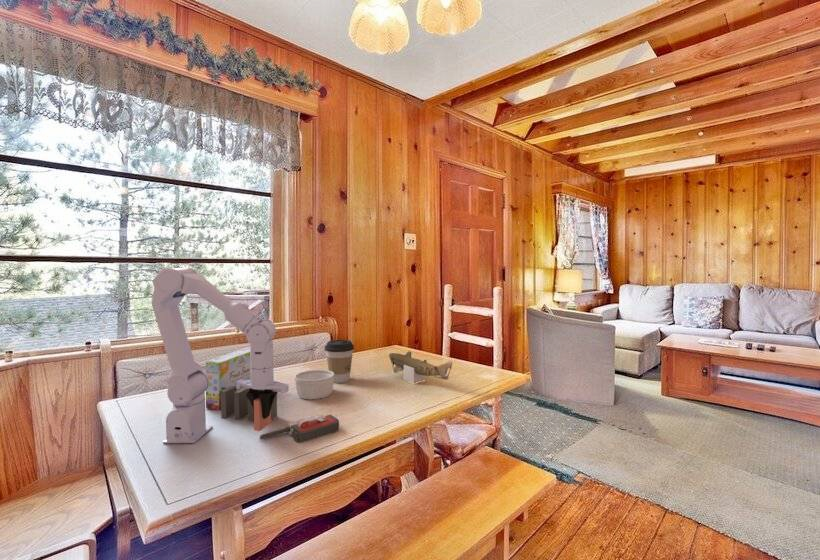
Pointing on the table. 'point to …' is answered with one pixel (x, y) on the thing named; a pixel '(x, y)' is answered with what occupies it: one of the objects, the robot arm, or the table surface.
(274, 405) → the domino
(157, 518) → the table surface
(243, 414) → the domino
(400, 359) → the wood carving
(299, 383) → the ramekin
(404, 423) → the table surface
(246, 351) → the snack box
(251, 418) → the domino
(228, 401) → the domino
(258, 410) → the red domino
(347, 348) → the coffee cup
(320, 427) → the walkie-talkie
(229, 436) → the table surface
